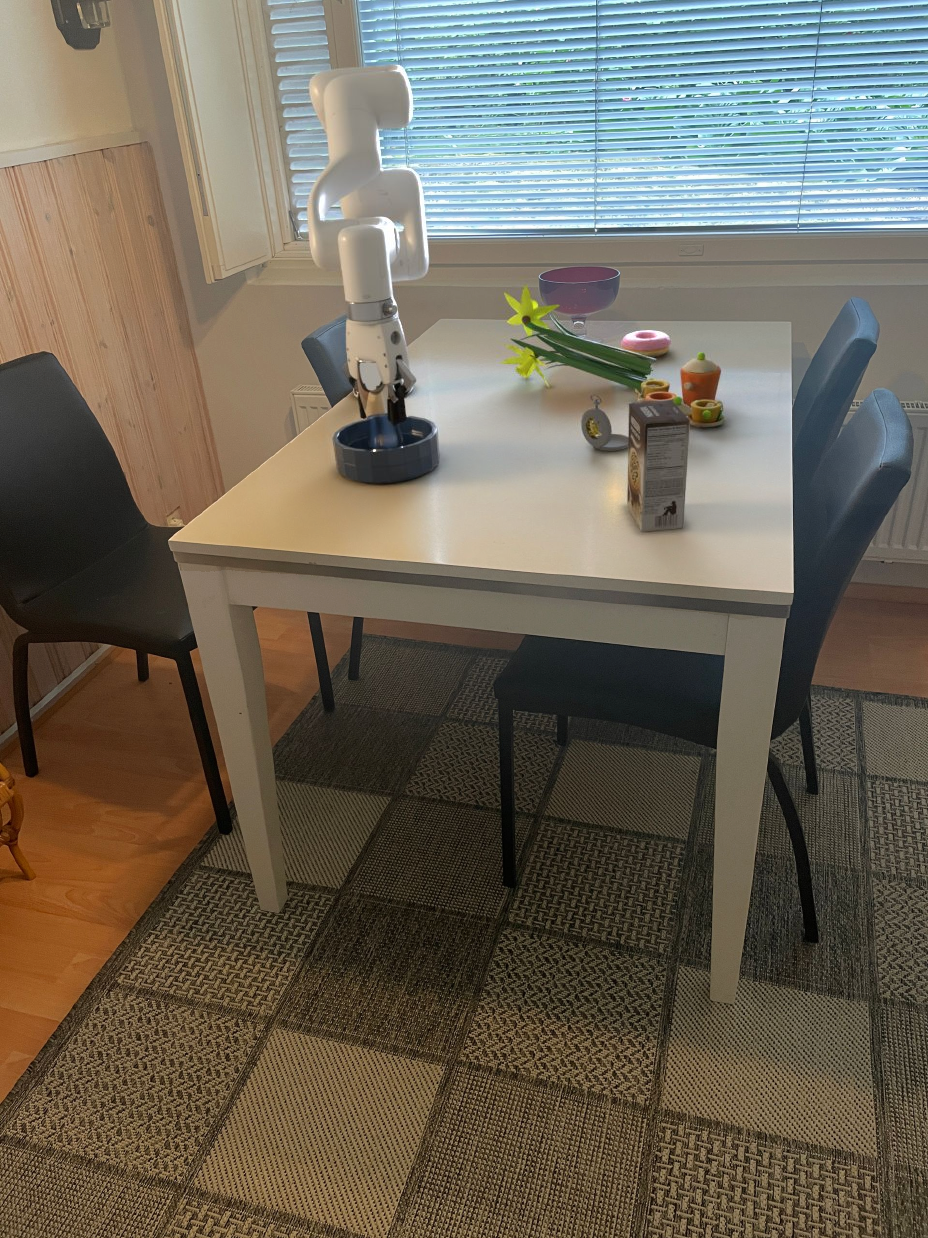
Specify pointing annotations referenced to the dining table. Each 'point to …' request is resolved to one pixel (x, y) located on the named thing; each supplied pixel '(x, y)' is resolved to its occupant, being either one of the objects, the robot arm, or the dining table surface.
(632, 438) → the coffee box
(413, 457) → the bowl
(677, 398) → the toy tea set
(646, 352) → the doughnut
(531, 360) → the daffodil flowers
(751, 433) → the dining table surface
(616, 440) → the pocket watch
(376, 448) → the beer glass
